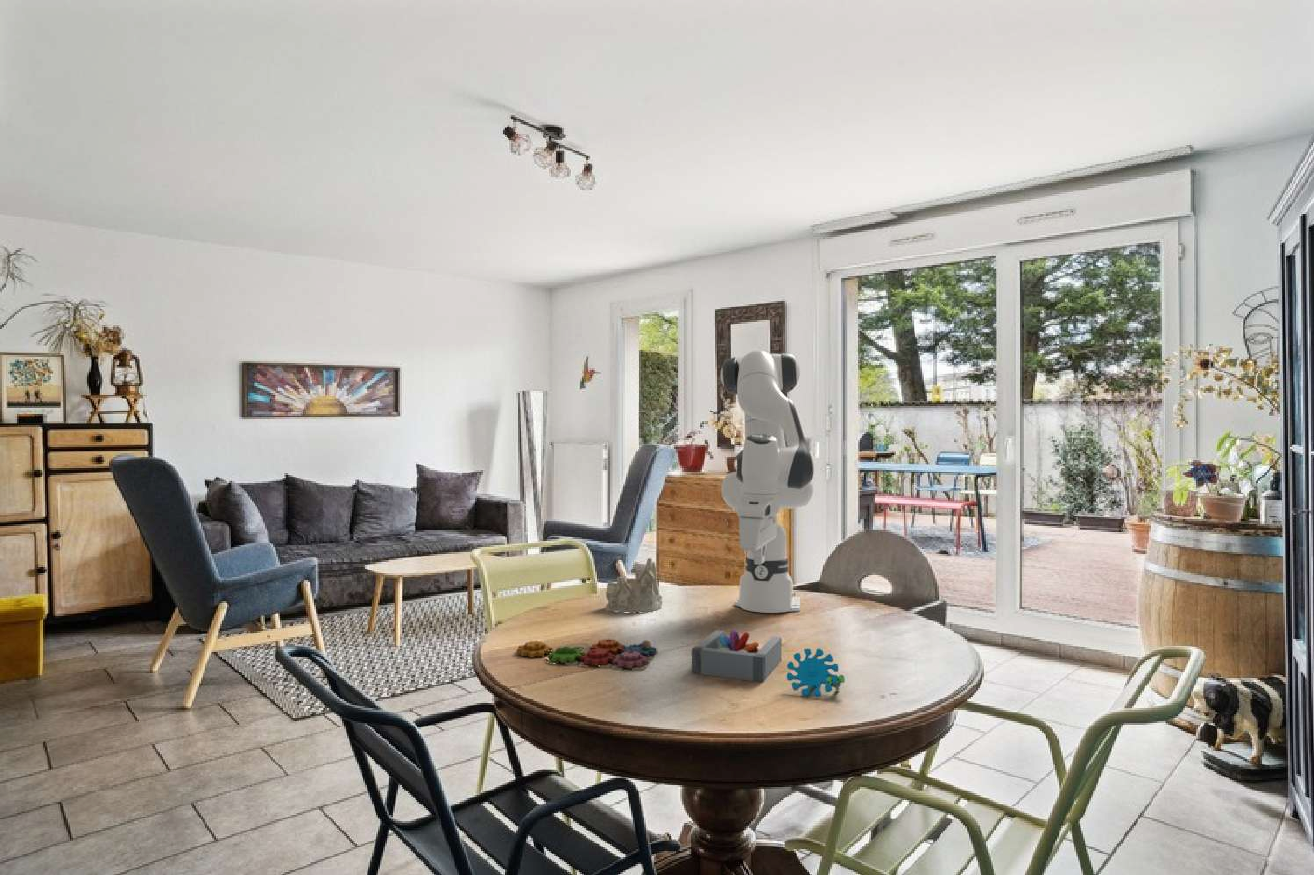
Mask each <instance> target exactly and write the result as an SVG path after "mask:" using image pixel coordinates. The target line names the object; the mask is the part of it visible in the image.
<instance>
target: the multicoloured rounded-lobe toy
mask: <svg viewBox="0 0 1314 875" xmlns="http://www.w3.org/2000/svg"><path fill="white" fill-rule="evenodd" d="M749 638H750V633H749V632H747V631H745V632H744V633H743V634H742V635H741V637H740V634H739V632H738V630H736V629H732V630H731V631H730V634H729V636H728V635H725V634H724V635H722V636H720V638H719V641H720V644H721V646H722V647H719V648H717V649H722V650H730V651H739V652H748V653H757V652H758V651H759V650H760V649H759V645H760V644H759V643H758V642H757V641H754V642H751V643H747V642H748V640H749Z"/></svg>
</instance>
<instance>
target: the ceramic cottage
mask: <svg viewBox="0 0 1314 875" xmlns="http://www.w3.org/2000/svg"><path fill="white" fill-rule="evenodd" d="M652 560H653V559H652V557H648V558H647V560H646V563H645V564H646V565H645V566H644V567H643V568H641V569H639V568H637V569H635V577H633V578H628V577H627V576H626V575H625V576H623V577H622V576H617V577H616V582H607V585H606V592H605V596H606V600H607V604H606V607H605V611H606V610H607V611H606V612H609V611H611V612H612V611H613V612H614V611H618V612H617V613H619V612H621V613H622V612H629V613H628V614H637V613H636V612H651V613H654V612H653V611H656V612H658V611H657V610H659V609H661V610H662V607H661V606H663V600H662V598H663V596H662V595H661V594H660V588H659V585H658V571H657V569H656V562H655V561H652ZM659 611H660V610H659ZM634 612H635V613H634Z"/></svg>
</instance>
